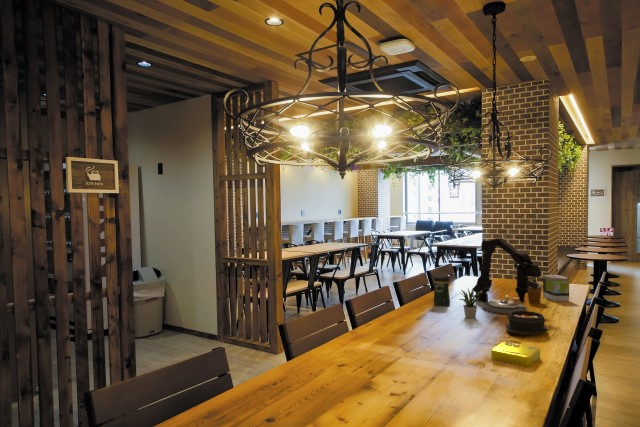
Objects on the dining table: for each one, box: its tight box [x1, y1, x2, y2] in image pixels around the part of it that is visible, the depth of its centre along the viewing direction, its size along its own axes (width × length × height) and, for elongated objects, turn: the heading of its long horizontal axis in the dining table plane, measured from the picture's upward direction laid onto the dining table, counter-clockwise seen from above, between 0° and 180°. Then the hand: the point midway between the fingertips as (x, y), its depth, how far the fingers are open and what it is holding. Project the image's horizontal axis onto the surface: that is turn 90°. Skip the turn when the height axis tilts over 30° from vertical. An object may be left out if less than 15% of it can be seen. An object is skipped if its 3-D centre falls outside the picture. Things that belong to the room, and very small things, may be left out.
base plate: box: [481, 301, 528, 316], centre depth 256 cm, size 24×24×2 cm
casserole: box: [505, 310, 549, 336], centre depth 211 cm, size 25×19×8 cm
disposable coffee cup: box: [527, 281, 543, 304], centre depth 274 cm, size 10×10×12 cm
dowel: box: [504, 294, 510, 301], centre depth 264 cm, size 2×2×4 cm
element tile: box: [490, 341, 541, 368], centre depth 175 cm, size 15×15×5 cm
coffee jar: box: [432, 274, 451, 307], centre depth 272 cm, size 10×8×19 cm
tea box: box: [542, 274, 570, 302], centre depth 282 cm, size 15×10×15 cm
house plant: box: [458, 288, 483, 319], centre depth 239 cm, size 14×14×16 cm
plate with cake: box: [489, 297, 526, 309], centre depth 256 cm, size 19×16×5 cm
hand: (522, 302), depth 251 cm, fingers closed
